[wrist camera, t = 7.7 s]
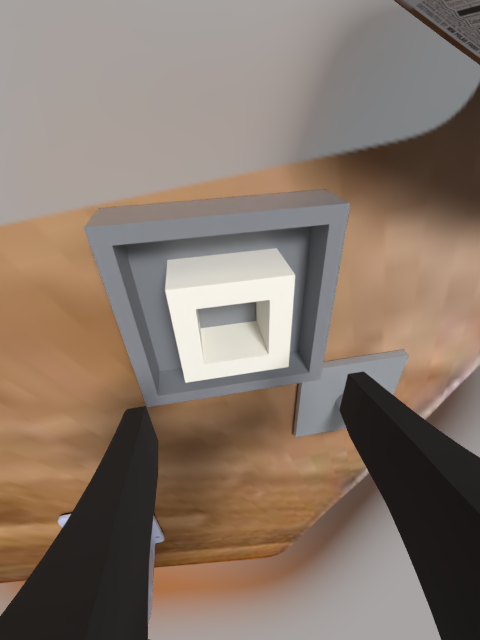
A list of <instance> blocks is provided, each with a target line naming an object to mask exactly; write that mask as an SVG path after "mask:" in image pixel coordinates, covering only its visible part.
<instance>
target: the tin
mask: <svg viewBox="0 0 480 640" xmlns="http://www.w3.org/2000/svg"><path fill="white" fill-rule="evenodd" d="M395 1H396V2H397V3H398V4H399V5H401V6H402V7H403V8H405V9H406V10H407V11H409V12H410V13H411V14H412V15H414V16H415V17H416V18H418V19H419V20H420V21H422V22H423V23H424V24H426V25H427V26H428V27H430V28H431V29H432V30H434V31H435V32H436V33H438V34H439V35H440V36H441V37H443V38H444V39H445V40H447V41H448V42H450V43H451V44H452V45H453V46H455V47H456V48H458V49H459V50H460V51H462V52H463V53H464V54H466V55H467V56H469V57H470V58H471V59H473V60H474V61H476V62H477V63H478V64H479V65H480V0H395Z"/></svg>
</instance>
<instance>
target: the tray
mask: <svg viewBox="0 0 480 640" xmlns="http://www.w3.org/2000/svg"><path fill="white" fill-rule="evenodd" d="M349 209H350V203H349V202H347V201H346V200H344V199H342V198H340V197H339V196H337V195H335V194H333V193H331V192H330V191H328V190H326V189H323V190H311V191H300V192H288V193H276V194H264V195H252V196H241V197H229V198H217V199H205V200H194V201H182V202H170V203H158V204H146V205H135V206H123V207H111V208H99V209H98V210H97V211H96V213H95V214H94V215H93V216H92V218H91V219H90V220H89V221H88V223H87V224H86V225H85V227H84V230H85V232H86V235H87V238H88V241H89V244H90V247H91V250H92V252H93V255H94V258H95V261H96V264H97V267H98V269H99V272H100V275H101V278H102V281H103V284H104V287H105V289H106V292H107V295H108V298H109V301H110V304H111V307H112V309H113V312H114V315H115V318H116V321H117V324H118V326H119V329H120V332H121V335H122V338H123V341H124V344H125V346H126V349H127V352H128V355H129V358H130V361H131V363H132V366H133V369H134V372H135V375H136V378H137V381H138V383H139V386H140V389H141V392H142V395H143V398H144V400H145V403H146V406H147V407H152V406H159V405H165V404H171V403H177V402H184V401H190V400H196V399H203V398H209V397H215V396H222V395H228V394H234V393H241V392H247V391H253V390H259V389H266V388H272V387H278V386H285V385H291V384H297V383H304V382H310V381H316V380H320V379H321V373H322V367H323V361H324V356H325V350H326V344H327V338H328V332H329V326H330V320H331V315H332V309H333V303H334V297H335V291H336V285H337V279H338V273H339V268H340V262H341V256H342V250H343V244H344V238H345V232H346V227H347V221H348V215H349ZM274 248H277V249H278V251H279V252H280V253H281V255H282V256H283V258H284V259H285V261H286V262H287V264H288V265H289V266H290V268H291V269H292V271H293V272H294V274H295V286H294V300H293V314H292V327H291V341H290V354H289V367H285V368H279V369H272V370H266V371H259V372H253V373H246V374H240V375H233V376H227V377H220V378H214V379H207V380H201V381H194V382H188V383H185V379H184V374H183V370H182V365H181V361H180V356H179V352H178V347H177V343H176V338H175V333H174V329H173V324H172V320H171V315H170V311H169V306H168V302H167V297H166V292H165V284H166V271H167V260H172V259H181V258H191V257H200V256H209V255H218V254H228V253H237V252H246V251H255V250H265V249H274ZM198 314H199V321H200V327H201V328H207V327H215V326H222V325H230V324H237V323H244V322H252V321H256V302H249V303H242V304H234V305H226V306H218V307H210V308H202V309H198Z"/></svg>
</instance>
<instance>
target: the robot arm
mask: <svg viewBox="0 0 480 640" xmlns="http://www.w3.org/2000/svg"><path fill="white" fill-rule="evenodd" d="M339 410H340V413H341V416H342V418H343V421H344V423H345V426H346V428H347V431H348V433H349V436H350V438H351V440H352V441H353V443H354V445H355V447H356V449H357V451H358V453H359V454H360V456H361V458H362V460H363V462H364V464H365V465H366V467H367V469H368V471H369V473H370V474H371V476H372V478H373V480H374V482H375V483H376V485H377V487H378V489H379V491H380V493H381V494H382V496H383V498H384V500H385V502H386V504H387V506H388V508H389V510H390V513H391V515H392V517H393V519H394V521H395V524H396V526H397V528H398V531H399V533H400V535H401V538H402V540H403V542H404V545H405V547H406V549H407V552H408V554H409V557H410V559H411V561H412V564H413V566H414V569H415V571H416V573H417V576H418V579H419V581H420V584H421V586H422V589H423V591H424V594H425V597H426V599H427V602H428V604H429V607H430V609H431V612H432V615H433V618H434V620H435V623H436V625H437V629H438V632H439V634H440V637H441V640H480V458H479V457H478V456H476V455H475V454H473V453H471V452H469V451H468V450H467V449H465V448H464V447H462V446H461V445H459V444H458V443H456V442H455V441H453V440H452V439H451V438H449V437H448V436H446V435H445V434H444V433H442V432H441V431H439V430H438V429H436V428H435V427H434V426H432V425H431V424H429V423H428V422H427V421H426V420H424V419H423V418H422V417H420V416H419V415H418V414H416V413H415V412H414V411H413V410H411V409H410V408H409V407H407V406H406V405H405V404H404V403H402V402H401V401H400V400H399V399H397V398H396V397H395V396H394V395H392V394H391V393H390V392H389V391H387V390H386V389H385V388H384V387H382V386H381V385H380V384H379V383H378V382H376V381H375V380H374V379H373V378H371V377H370V376H369V375H368V374H366V373H365V372H364V371H363V372H357V373H351V374H348V376H347V380H346V384H345V388H344V392H343V397H342V401H341V405H340V409H339ZM157 479H158V440H157V437H156V434H155V431H154V428H153V425H152V422H151V420H150V417H149V414H148V411H147V408H146V406H144V407H138V408H132V409H127V410H126V411H125V412H124V415H123V417H122V419H121V422H120V424H119V426H118V428H117V430H116V433H115V435H114V437H113V439H112V441H111V443H110V445H109V447H108V449H107V451H106V453H105V455H104V457H103V459H102V461H101V462H100V464H99V466H98V468H97V470H96V472H95V474H94V476H93V478H92V479H91V481H90V483H89V485H88V486H87V488H86V490H85V491H84V493H83V495H82V497H81V498H80V500H79V502H78V503H77V505H76V507H75V509H74V510H73V512H72V514H67V515H62V516H60V517H59V519H58V523H59V524H60V525H61V526H62V527H63V528H62V530H61V531H60V533H59V534H58V536H57V537H56V539H55V540H54V542H53V543H52V545H51V546H50V548H49V549H48V551H47V552H46V554H45V555H44V557H43V558H42V560H41V561H40V562H39V564H38V565H37V567H36V568H35V569H34V571H33V572H32V574H31V575H30V577H29V578H28V579H27V581H26V582H25V584H24V585H23V586H22V588H21V589H20V591H19V592H18V593H17V595H16V596H15V597H14V599H13V600H12V601H11V603H10V604H9V605H8V607H7V608H6V609H5V611H4V612H3V614H2V615H1V616H0V640H150V639H148V622H149V619H150V615H151V609H152V594H153V575H154V557H155V543H159V542H163V541H164V535H163V532H162V530H161V528H160V526H159V524H158V522H157V520H156V518H155V516H154V507H155V498H156V488H157Z"/></svg>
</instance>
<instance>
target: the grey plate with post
mask: <svg viewBox="0 0 480 640" xmlns="http://www.w3.org/2000/svg"><path fill="white" fill-rule="evenodd" d="M408 356H409V355H408V354H407V353H406V351H405V350H399V351H392V352H385V353H379V354H372V355H366V356H359V357H352V358H346V359H339V360H333V361H326V362H323V367H322V373H321V379H320V380H316V381H310V382H304V383H299V384H298V393H297V402H296V411H295V420H294V430H293V432H294V435H295V437H301V436H306V435H312V434H317V433H323V432H328V431H334V430H340V429H345V428H346V426H345V423H344V421H343V418H342V416H341V413H340V410H339V409H340V405H341V401H342V397H343V392H344V388H345V384H346V380H347V376H348V374H351V373H357V372H363V371H364V372H365V373H366V374H368V375H369V376H370V377H371V378H373V379H374V380H375V381H376V382H378V383H379V384H380V385H381V386H382V387H384V388H385V389H386V390H387V391H389V392H390V393H391V394H392V395H393V394H394V392H395V389H396V386H397V384H398V381H399V379H400V376H401V374H402V371H403V369H404V366H405V364H406V361H407V359H408Z"/></svg>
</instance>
